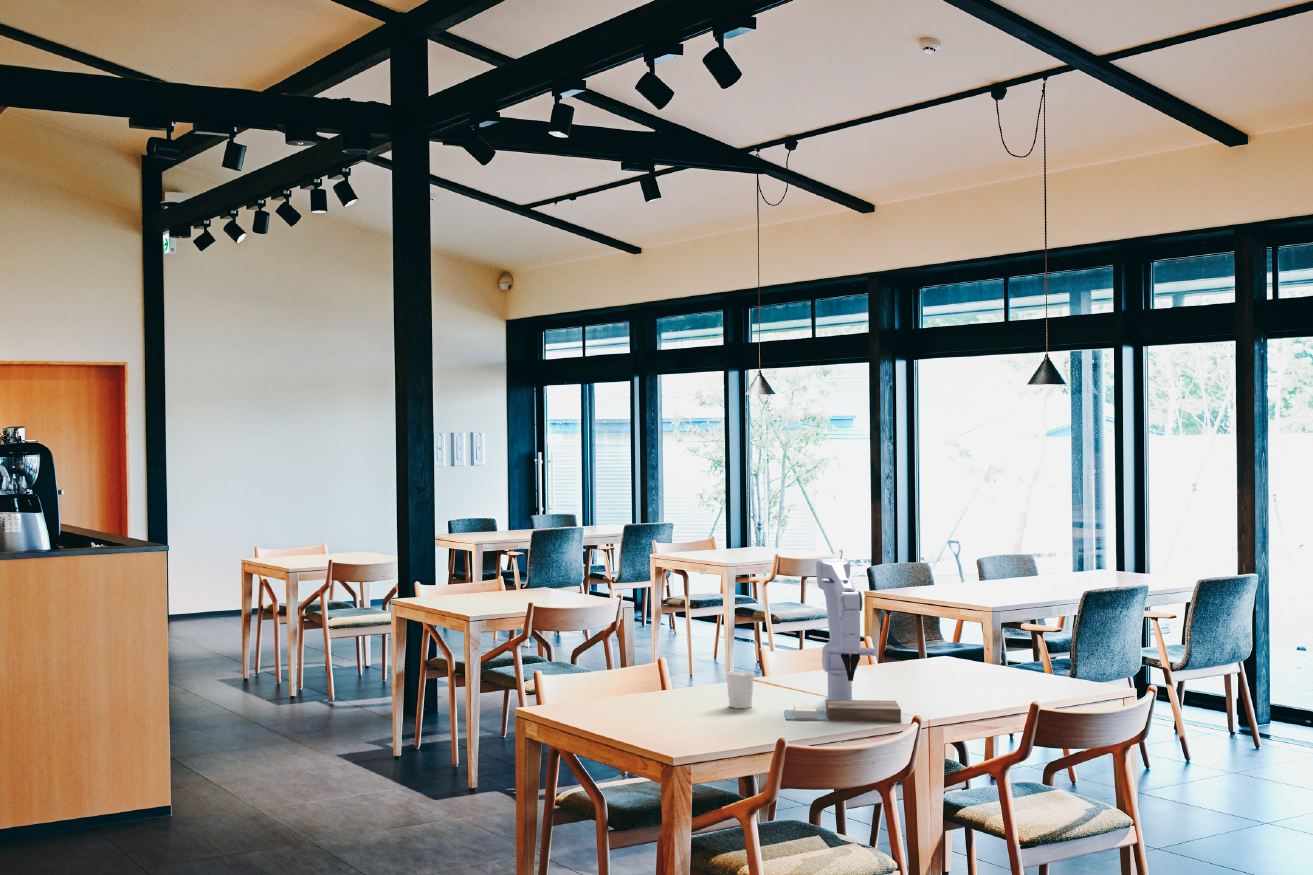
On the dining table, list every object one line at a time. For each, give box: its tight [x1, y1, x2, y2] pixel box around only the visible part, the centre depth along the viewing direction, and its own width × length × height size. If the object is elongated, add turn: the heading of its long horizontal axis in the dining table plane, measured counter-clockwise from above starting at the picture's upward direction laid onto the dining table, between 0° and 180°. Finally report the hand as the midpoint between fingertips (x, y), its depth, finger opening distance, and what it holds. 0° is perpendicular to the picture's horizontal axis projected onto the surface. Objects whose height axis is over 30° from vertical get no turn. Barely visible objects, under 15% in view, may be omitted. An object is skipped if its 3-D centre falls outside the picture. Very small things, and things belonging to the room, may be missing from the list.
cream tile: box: [793, 703, 817, 718], centre depth 333 cm, size 9×6×2 cm, turn 175°
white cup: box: [726, 670, 754, 710], centre depth 347 cm, size 8×8×10 cm
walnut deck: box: [825, 699, 902, 723], centre depth 332 cm, size 12×20×4 cm, turn 85°
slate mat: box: [784, 709, 828, 722], centre depth 333 cm, size 12×12×1 cm
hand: (850, 680), depth 338 cm, fingers closed
